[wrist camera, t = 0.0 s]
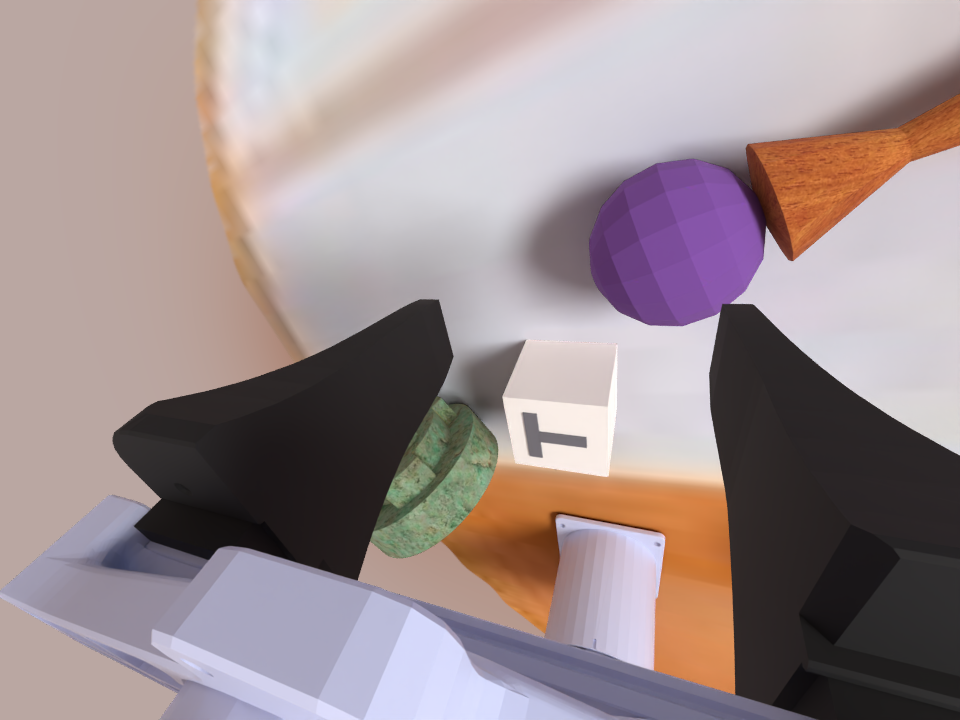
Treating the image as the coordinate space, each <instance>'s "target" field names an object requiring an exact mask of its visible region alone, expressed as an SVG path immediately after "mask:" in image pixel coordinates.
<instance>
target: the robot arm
mask: <svg viewBox="0 0 960 720" xmlns="http://www.w3.org/2000/svg"><path fill="white" fill-rule="evenodd" d="M453 357H454V356H453V353H452V349H451V345H450V341H449V337H448V333H447V329H446V326H445V322H444V318H443V314H442V310H441V306H440V302H439V300H426V299H420V300H418V301H415V302H413V303H411V304H409V305H407V306H405V307H403V308H401V309H399V310H397V311H396V312H394V313H392V314H390V315H388V316H387V317H385V318H383V319H381V320H380V321H378V322H376V323H374V324H373V325H371V326H369V327H367V328H366V329H364V330H362V331H360V332H358V333H357V334H355V335H353V336H351V337H349V338H347V339H345V340H343V341H341V342H339V343H338V344H336V345H334V346H332V347H330V348H328V349H326V350H324V351H322V352H319V353H317V354H315V355H313V356H311V357H308V358H306V359H304V360H301V361H299V362H296V363H294V364H292V365H289V366H286V367H283V368H281V369H278V370H275V371H272V372H269V373H267V374H264V375H261V376H258V377H255V378H252V379H249V380H245V381H242V382H239V383H236V384H232V385H228V386H224V387H221V388H217V389H213V390H209V391H205V392H200V393H196V394H191V395H186V396H182V397H177V398H173V399H167V400H162V401H157V402H155V403H153V404H151V405H150V406H148V407H146V408H145V409H144V410H143V411H141V412H140V413H139V414H137V415H136V416H135V417H133V418H132V419H131V420H130V421H128V422H127V423H126V424H125V425H123V426H122V427H121V428H119V429H118V430H117V431H116V432H114V435H113V444H114V448H115V450H116V451H117V453H118V454H119V456H120V457H121V458H122V459H123V461H124V462H125V463H126V464H127V465H128V466H129V467H130V468H131V469H132V470H133V471H134V472H135V473H136V474H137V475H138V476H139V477H140V478H141V479H142V480H143V481H144V482H145V483H146V484H147V485H148V486H149V487H150V488H151V489H152V490H153V491H154V492H155V493H156V494H157V495H158V496H159V497H160V498H162V499H161V500H160V501H159V502H158V503H157V504H156V505H155V506H154V507H153V508H152V509H151V508H149V507H147V506H146V505H144V504H142V503H140V502H137V501H133V500H130V499H126V498H123V497H119V496H115V495H109V496H107V497H106V498H105V499H104V500H103V501H101V502H100V503H99V504H98V505H97V506H96V507H95V508H93V509H92V510H91V511H90V512H89V513H88V514H87V515H85V516H84V517H83V518H82V519H81V520H80V521H79V522H78V523H77V524H75V525H74V526H73V527H72V528H71V529H70V530H69V531H67V532H66V533H65V534H64V535H63V536H62V537H60V538H59V539H58V540H57V541H56V542H55V543H54V544H53V545H51V546H50V547H49V548H48V549H47V550H46V551H45V552H43V554H41V555H40V556H39V557H38V558H37V559H35V560H34V561H33V562H32V563H31V564H30V565H29V566H27V567H26V568H25V569H24V570H23V571H22V572H21V573H20V574H18V575H17V576H16V577H15V578H14V579H13V580H12V581H11V582H9V583H8V584H7V585H6V586H5V587H4V588H3V589H1V590H0V598H2V599H3V600H5V601H7V602H9V603H11V604H12V605H14V606H16V607H18V608H19V609H21V610H23V611H25V612H26V613H28V614H30V615H32V616H33V617H35V618H37V619H39V620H40V621H42V622H44V623H46V624H47V625H49V626H51V627H53V628H54V629H56V630H58V631H60V632H61V633H63V634H65V635H67V636H69V637H70V638H72V639H74V640H76V641H78V642H79V643H81V644H83V645H85V646H86V647H88V648H90V649H92V650H95V651H96V652H99V653H100V654H102V655H104V656H106V657H108V658H110V659H112V660H115V661H116V662H118V663H120V664H122V665H124V666H126V667H128V668H130V669H132V670H134V671H136V672H138V673H140V674H142V675H143V676H145V677H147V678H149V679H151V680H153V681H155V682H157V683H159V684H161V685H163V686H165V687H167V688H169V689H170V690H172V691H175V692H176V693H178V694H177V695H176V697H175V698H174V700H173V701H172V703H171V704H170V705H169V707H168V708H167V710H166V711H165V712H164V714H163V715H162V717H161V718H160V719H159V720H960V455H958V454H956V453H954V452H952V451H950V450H948V449H946V448H945V447H943V446H941V445H939V444H938V443H936V442H934V441H932V440H930V439H929V438H927V437H925V436H923V435H921V434H920V433H918V432H916V431H914V430H912V429H911V428H909V427H907V426H906V425H904V424H902V423H901V422H899V421H897V420H896V419H894V418H892V417H891V416H889V415H887V414H886V413H884V412H883V411H881V410H880V409H878V408H877V407H875V406H874V405H872V404H871V403H869V402H868V401H866V400H865V399H863V398H862V397H860V396H859V395H857V394H856V393H854V392H853V391H852V390H850V389H849V388H847V387H846V386H845V385H843V384H842V383H841V382H839V381H838V380H837V379H835V378H834V377H833V376H832V375H830V374H829V373H828V372H826V371H825V370H824V369H823V368H821V367H820V366H819V365H818V364H816V363H815V362H814V361H813V360H812V359H811V358H809V357H808V356H807V355H806V354H805V353H804V352H802V351H801V350H800V349H799V348H798V347H797V346H796V345H795V344H794V343H792V342H791V341H790V340H789V339H788V338H787V337H786V336H785V335H784V334H783V333H782V332H781V331H780V330H779V329H778V328H777V327H776V326H775V325H774V324H773V323H772V322H771V321H770V320H769V319H768V318H767V317H766V316H765V315H764V314H763V313H762V312H761V311H760V310H759V309H758V308H757V307H755V306H754V305H753V304H722V307H721V312H720V318H719V323H718V329H717V334H716V340H715V345H714V351H713V356H712V362H711V367H710V373H709V381H710V408H711V415H712V421H713V426H714V432H715V438H716V443H717V448H718V454H719V459H720V465H721V470H722V475H723V481H724V486H725V492H726V500H727V507H728V521H729V537H730V554H731V573H732V593H733V621H734V650H735V695H734V694H730V693H727V692H724V691H720V690H717V689H714V688H710V687H707V686H704V685H700V684H697V683H694V682H690V681H687V680H684V679H680V678H677V677H674V676H670V675H667V674H664V673H660V672H657V671H654V638H655V599H656V598H657V597H658V591H659V583H660V576H661V568H662V561H663V553H664V546H665V536H664V535H663V534H661V533H658V532H653V531H648V530H643V529H637V528H632V527H627V526H621V525H616V524H611V523H605V522H600V521H595V520H589V519H584V518H579V517H573V516H568V515H563V514H559V515H557V516H556V520H555V521H556V529H557V537H558V544H559V552H560V562H559V567H558V572H557V577H556V582H555V587H554V592H553V597H552V602H551V608H550V613H549V618H548V623H547V628H546V633H545V638H543V637H540V636H536V635H533V634H530V633H526V632H523V631H520V630H517V629H513V628H510V627H507V626H503V625H500V624H496V623H493V622H489V621H486V620H483V619H480V618H476V617H473V616H470V615H466V614H463V613H460V612H456V611H453V610H449V609H446V608H443V607H440V606H436V605H433V604H430V603H426V602H423V601H420V600H416V599H413V598H410V597H406V596H403V595H400V594H396V593H393V592H390V591H387V590H384V589H382V588H380V587H376V586H373V585H370V584H366V583H363V582H360V581H358V577H359V574H360V570H361V567H362V564H363V561H364V558H365V554H366V551H367V548H368V545H369V542H370V539H371V537H372V534H373V531H374V528H375V525H376V522H377V519H378V517H379V514H380V511H381V508H382V506H383V503H384V501H385V498H386V496H387V493H388V491H389V488H390V486H391V483H392V481H393V478H394V476H395V474H396V471H397V469H398V467H399V464H400V462H401V460H402V458H403V455H404V453H405V451H406V449H407V448H408V446H409V444H410V442H411V440H412V438H413V437H414V435H415V433H416V431H417V430H418V428H419V426H420V424H421V423H422V421H423V419H424V417H425V416H426V414H427V412H428V410H429V409H430V407H431V405H432V403H433V402H434V400H435V398H436V396H437V395H438V393H439V391H440V389H441V387H442V385H443V383H444V381H445V378H446V376H447V373H448V371H449V368H450V365H451V362H452V360H453Z"/></svg>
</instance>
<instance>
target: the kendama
mask: <svg viewBox="0 0 960 720" xmlns="http://www.w3.org/2000/svg"><path fill="white" fill-rule="evenodd" d="M959 145H960V94H958V95H956V96H955V97H953V98H951V99H949V100H947V101H945V102H944V103H942V104H940V105H938V106H936V107H935V108H933V109H931V110H929V111H927V112H925V113H924V114H922V115H920V116H918V117H916V118H915V119H913V120H911V121H909V122H907V123H906V124H904V125H902V126H900V127H898V128H894V129H884V130H875V131H866V132H856V133H847V134H838V135H829V136H819V137H810V138H801V139H791V140H782V141H773V142H764V143H754V144H748V145H747V147H746V155H747V162H748V168H749V173H750V179H751V184H752V189H753V191H752V190H751V189H750V188H749V187H748V186H747V185H746V184H745V183H744V182H743V181H741V180H740V179H739V178H738V177H737V176H736V175H735V174H734V173H733V172H731V171H730V170H729V169H728V168H724V167H721V166H717V165H714V164H710V163H707V162H703V161H700V160H696V159H687V160H680V161H672V162H665V163H657V164H655V165H653V166H651V167H649V168H647V169H645V170H644V171H642V172H640V173H638V174H636V175H634V176H633V177H631V178H629V179H627V180H625V181H624V182H623V183H622V184H621V185H620V186H619V187H618V189H617V190H616V191H615V192H614V193H613V194H612V195H611V197H610V198H609V199H608V200H607V201H606V202H605V203H604V205H603V206H602V207H601V209H600V212H599V215H598V217H597V220H596V223H595V225H594V228H593V231H592V233H591V236H590V240H589V250H590V266H591V273H592V277H593V279H594V282H595V284H596V286H597V288H598V289H599V291H600V292H601V293H602V294H603V295H604V296H605V297H606V299H607V300H608V301H609V302H610V303H611V304H612V305H613V306H614V308H615V309H616V310H618V311H619V312H620V313H622V314H624V315H627V316H629V317H631V318H634V319H636V320H638V321H641V322H643V323H645V324H648V325H658V326H684V325H687V324H690V323H693V322H696V321H699V320H702V319H705V318H708V317H711V316H714V315H716V314H718V313H719V312H720V311H721V307H722V304H730V303H731V302H732V301H734V300H735V299H736V298H737V297H738V296H740V295H741V294H742V293H743V292H745V290H746V289H747V287H748V285H749V283H750V282H751V280H752V278H753V276H754V274H755V273H756V271H757V269H758V267H759V265H760V264H761V262H762V260H763V256H764V244H765V232H766V226H767V228H768V229H769V231H770V233H771V234H772V236H773V237H774V239H775V241H776V242H777V244H778V246H779V247H780V249H781V250H782V252H783V253H784V255H785V256H786V257H787V259H788V260H790V261H794V260H795V259H796V258H797V257H798V256H799V255H801V254H802V253H803V252H804V251H805V250H807V249H808V248H809V247H810V246H811V245H812V244H814V243H815V242H816V241H817V240H818V239H819V238H821V237H822V236H823V235H824V234H825V233H826V232H828V231H829V230H830V229H831V228H832V227H834V226H835V225H836V224H837V223H838V222H839V221H841V220H842V219H843V218H844V217H845V216H846V215H848V214H849V213H850V212H851V211H852V210H854V209H855V208H856V207H857V206H858V205H859V204H861V203H862V202H863V201H864V200H865V199H866V198H868V197H869V196H870V195H871V194H872V193H874V192H875V191H876V190H877V189H878V188H879V187H881V186H882V185H883V184H884V183H885V182H886V181H888V180H889V179H890V178H891V177H892V176H894V175H895V174H896V173H897V172H898V171H899V170H901V169H902V168H903V167H904V166H905V165H906V164H908V163H909V162H911V161H914V160H917V159H920V158H923V157H926V156H929V155H932V154H935V153H938V152H941V151H944V150H947V149H950V148H953V147H956V146H959Z"/></svg>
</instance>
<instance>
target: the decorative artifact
mask: <svg viewBox="0 0 960 720" xmlns="http://www.w3.org/2000/svg"><path fill="white" fill-rule="evenodd" d="M497 459H498V444H497V440H496V438H495V436H494V435H493V434H492V433H491V431H490V430H489V429H488V428H487V427H486V426H485V425H484V424H483V423H482V421H481V420H480V419H479V418H478V417H477V416H476V415H475V414H474V413H473V412H472V410H471V409H470V408H469V407H468V406H466V405H463V404H451V405H447V404H446V403H445V402H444V400H443V399H442V398H440V397H437V396H436V398H435V400H434V402H433V403H432V405H431V407H430V409H429V410H428V412H427V414H426V416H425V417H424V419H423V421H422V423H421V424H420V426H419V428H418V430H417V431H416V433H415V435H414V437H413V438H412V440H411V442H410V444H409V446H408V448H407V449H406V451H405V453H404V455H403V458H402V460H401V462H400V464H399V467H398V469H397V471H396V474H395V476H394V478H393V481H392V483H391V486H390V488H389V491H388V493H387V496H386V498H385V501H384V503H383V506H382V508H381V511H380V514H379V517H378V519H377V522H376V525H375V528H374V531H373V534H372V537H371V539H370V541H371V542H372V543H373V544H374V545H375V546H377V547H378V548H379V549H380V550H381V551H382V552H384V553H385V554H386V555H388V556H390V557H393V558H406V557H411V556H414V555H416V554H419V553H422V552H423V551H425V550H427V549H429V548H431V547H432V546H434V545H436V544H437V543H438V542H440V541H441V540H442V539H444V538H445V537H446V536H448V535H449V534H450V533H451V532H452V531H453V530H454V529H455V528H456V527H457V526H458V525H459V524H460V523H461V522H462V521H463V520H464V519H465V518H466V517H467V516H468V514H469V513H470V512H471V511H472V510H473V508H474V507H475V506H476V504H477V503H478V501H479V500H480V498H481V497H482V495H483V494H484V492H485V490H486V488H487V487H488V485H489V483H490V481H491V478H492V476H493V473H494V470H495V467H496V464H497Z"/></svg>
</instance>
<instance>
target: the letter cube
mask: <svg viewBox="0 0 960 720" xmlns="http://www.w3.org/2000/svg"><path fill="white" fill-rule="evenodd" d="M502 398H503V403H504V408H505V413H506V418H507V423H508V428H509V433H510V438H511V443H512V448H513V453H514V458H515V463H518V464H525V465H531V466H538V467H545V468H551V469H558V470H565V471H571V472H578V473H584V474H591V475H598V476H604V477H608V474H609V466H610V458H611V450H612V443H613V435H614V427H615V419H616V412H617V343H596V342H572V341H548V340H526V342H525V344H524V347H523V349H522V351H521V354H520V356H519V358H518V361H517V363H516V366H515V368H514V370H513V373H512V375H511V377H510V380H509V382H508V385H507V387H506V389H505V392H504V394H503V396H502Z"/></svg>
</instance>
